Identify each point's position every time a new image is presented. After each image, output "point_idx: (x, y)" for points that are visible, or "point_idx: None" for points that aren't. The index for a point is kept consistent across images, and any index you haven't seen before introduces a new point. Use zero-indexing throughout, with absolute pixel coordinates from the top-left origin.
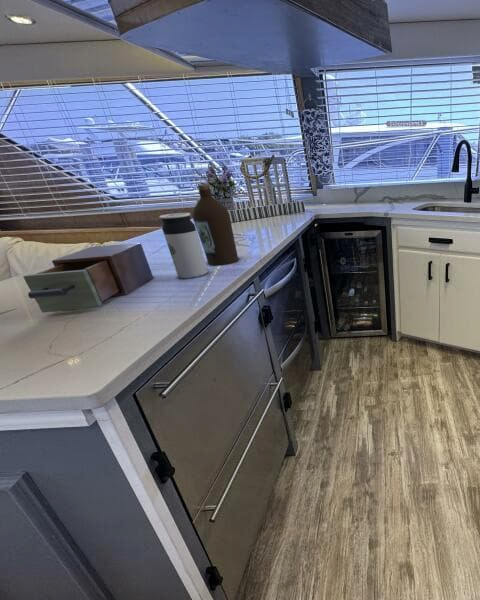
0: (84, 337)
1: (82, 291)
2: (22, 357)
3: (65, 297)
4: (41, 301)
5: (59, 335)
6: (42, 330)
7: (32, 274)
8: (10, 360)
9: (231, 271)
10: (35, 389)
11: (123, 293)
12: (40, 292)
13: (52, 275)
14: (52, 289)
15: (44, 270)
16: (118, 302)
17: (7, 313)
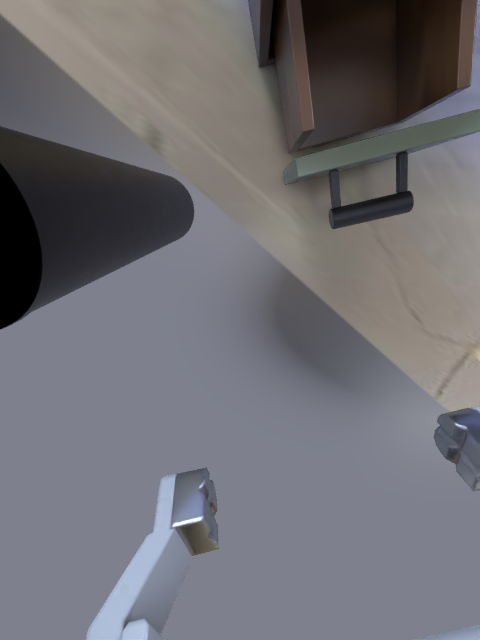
0: (454, 290)
1: (410, 151)
2: (395, 343)
3: (357, 165)
4: (299, 180)
5: (399, 279)
6: (346, 257)
7: (314, 158)
8: (384, 349)
9: None
10: None
11: None
12: (362, 221)
13: (378, 157)
14: (389, 208)
15: (299, 92)
16: None
17: (167, 160)
